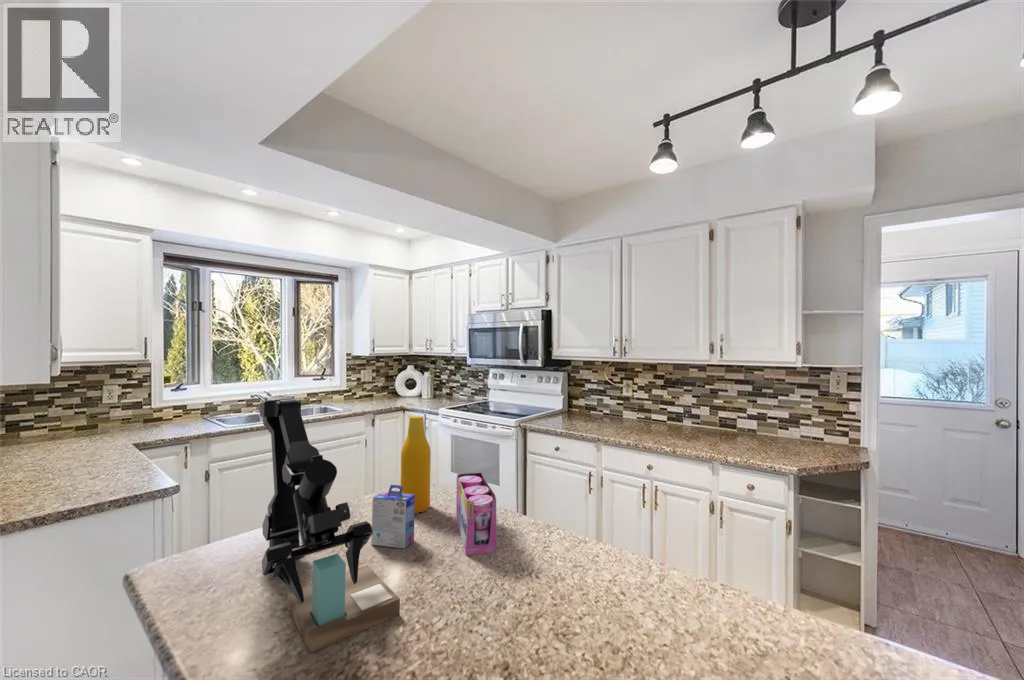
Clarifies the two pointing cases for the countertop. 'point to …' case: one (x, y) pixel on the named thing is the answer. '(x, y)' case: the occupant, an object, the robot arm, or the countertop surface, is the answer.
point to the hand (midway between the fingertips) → (329, 592)
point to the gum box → (476, 514)
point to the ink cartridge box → (393, 518)
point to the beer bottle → (416, 464)
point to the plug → (328, 589)
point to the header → (346, 610)
